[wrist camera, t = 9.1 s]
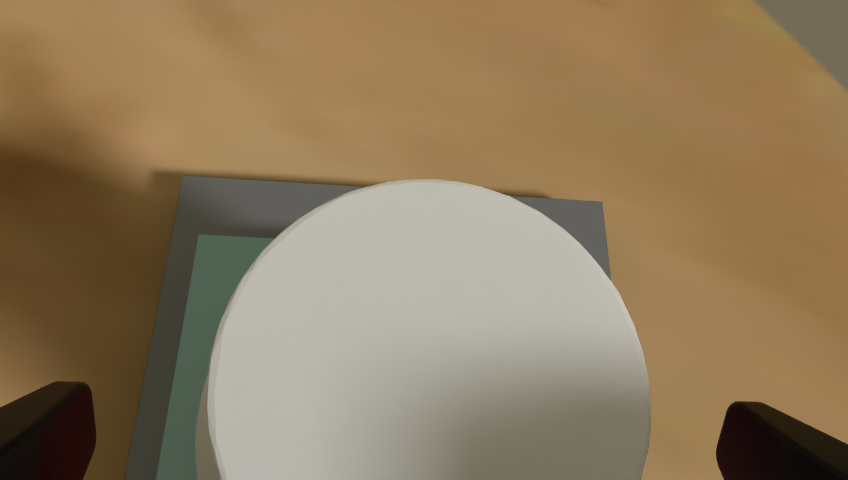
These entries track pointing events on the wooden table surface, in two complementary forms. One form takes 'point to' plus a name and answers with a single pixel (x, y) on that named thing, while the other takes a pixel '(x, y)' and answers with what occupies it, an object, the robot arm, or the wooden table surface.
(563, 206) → the jig board
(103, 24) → the wooden table surface
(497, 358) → the pill bottle
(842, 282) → the wooden table surface
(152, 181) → the wooden table surface
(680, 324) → the wooden table surface
